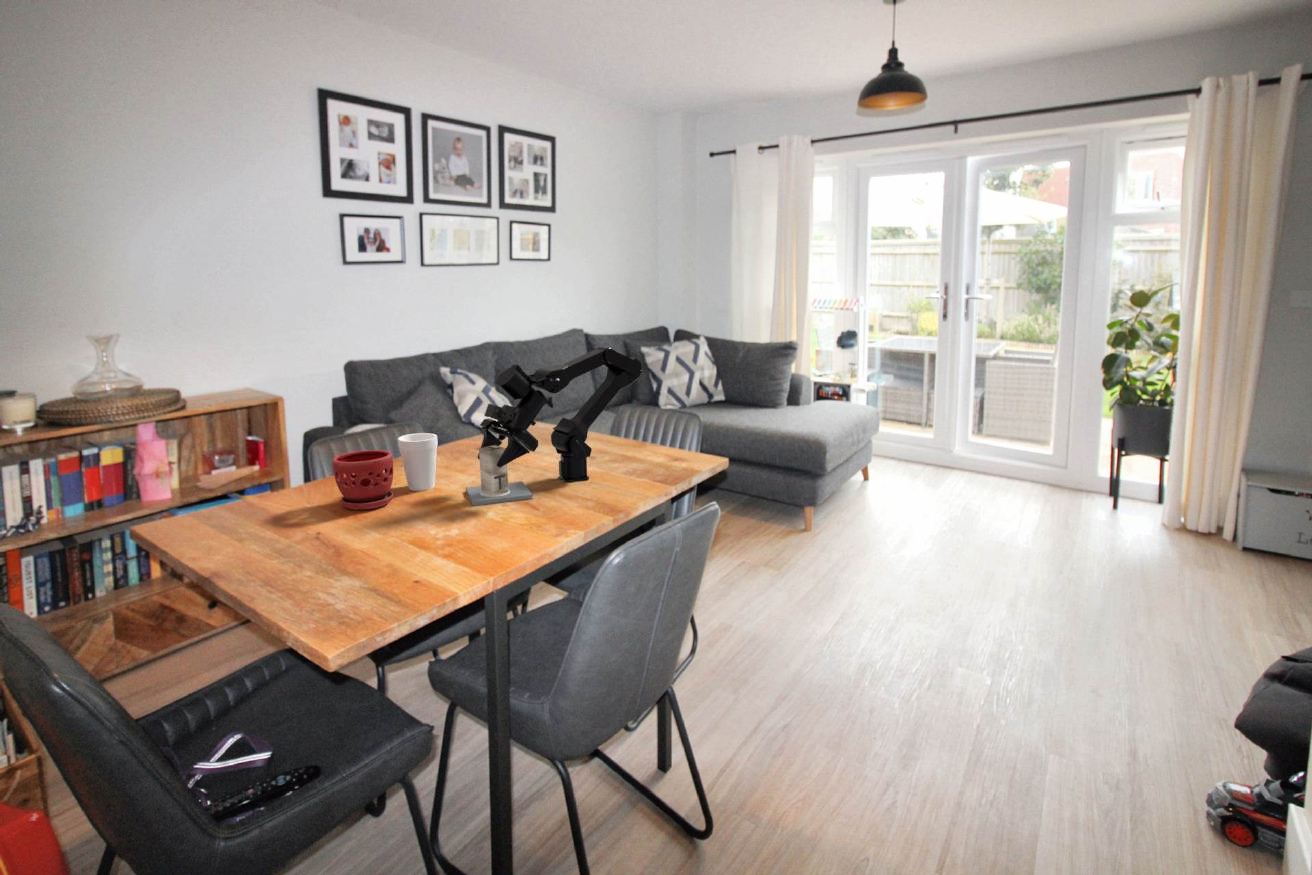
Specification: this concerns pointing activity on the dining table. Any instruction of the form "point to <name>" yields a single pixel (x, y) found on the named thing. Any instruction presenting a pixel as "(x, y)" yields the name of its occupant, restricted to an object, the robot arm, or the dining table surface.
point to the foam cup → (419, 459)
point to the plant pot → (364, 478)
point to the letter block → (492, 471)
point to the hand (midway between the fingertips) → (488, 462)
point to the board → (515, 493)
